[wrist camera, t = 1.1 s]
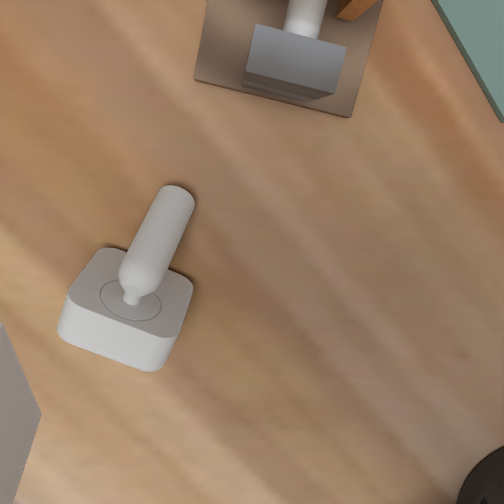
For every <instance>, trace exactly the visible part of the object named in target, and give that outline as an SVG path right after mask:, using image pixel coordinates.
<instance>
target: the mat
mask: <svg viewBox="0 0 504 504" xmlns="http://www.w3.org/2000/svg"><path fill="white" fill-rule="evenodd" d="M431 1H432V2H433V4H434V6H435V8H436V9H437V11H438V13H439V15H440V16H441V18H442V20H443V22H444V23H445V25H446V27H447V29H448V30H449V32H450V34H451V36H452V38H453V39H454V41H455V43H456V45H457V46H458V48H459V50H460V52H461V53H462V55H463V57H464V59H465V60H466V62H467V64H468V66H469V67H470V69H471V71H472V73H473V74H474V76H475V78H476V80H477V81H478V83H479V85H480V87H481V88H482V90H483V92H484V94H485V95H486V97H487V99H488V101H489V102H490V104H491V106H492V108H493V109H494V111H495V113H496V115H497V116H498V118H499V120H500V122H504V0H431Z"/></svg>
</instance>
